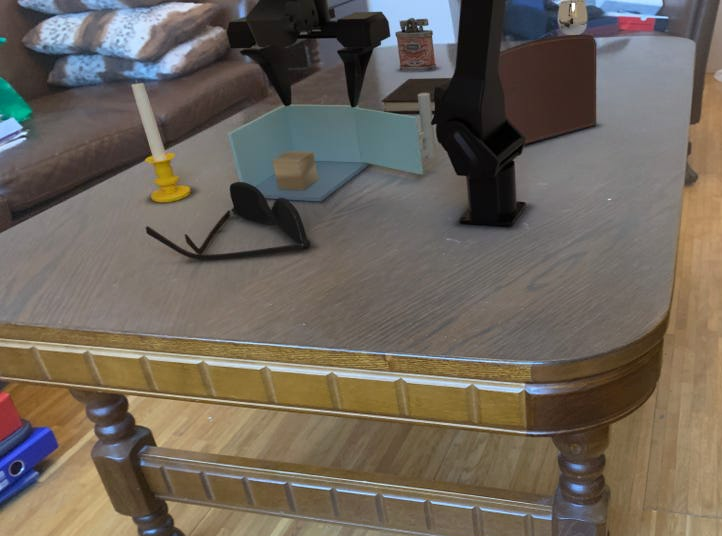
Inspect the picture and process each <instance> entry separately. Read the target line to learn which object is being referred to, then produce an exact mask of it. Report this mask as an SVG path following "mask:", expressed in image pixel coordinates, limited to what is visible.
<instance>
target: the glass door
mask: <svg viewBox="0 0 722 536" xmlns="http://www.w3.org/2000/svg"><path fill="white" fill-rule="evenodd" d="M418 103H419V112H420V113H419V121H420V129H421V131H419V127H418V120H417V119H418V118H417V116H414V115H413V116H412V115H408V114H395V113H388V112H384V111H383V110H376V109H369V108H363V107H359V108H357V107H354V108H353V110H354V116H355V122H356V128H357V135H358V141H359V147H360V153H361V159H362V162H365V163H368V165H375V166H379V167H384V168H389V169H393V170H397V171H402V172H407V173H412V174H416V175H424V167H423V161H422V160H423V158H425V159H427V160H430V159H435V158H436V157H437V148H436V139H435V130H434V125H431V121H432V119H433V113H432V111H431V102H430V94H429V93H421V94H418ZM420 141H422V145H423V148H422V149H421V144H420Z"/></svg>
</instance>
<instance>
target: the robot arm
mask: <svg viewBox="0 0 722 536" xmlns="http://www.w3.org/2000/svg"><path fill="white" fill-rule="evenodd" d="M506 1H507V0H460V9H459V19H458V29H457V45H456V55H455V67H454V71H453V74H452V77H450V78H451V79H449V80H448V81H446V82H444V83H442V84H441V85H439V86H437V87H435V91H434V104H435V112H434V113H433V116H432V121H431V125H433V126H435V137H436V141H437V143H438V144H440V145H441V146H442V148H443V149H444V151H446V154H447V157H448V158H449V160H450V163H451V165H452V168H453V170H454V172H455V175H456V176H459V177H465V179H466V191H467V192H466V193H467V205H468V208H467V209H465V212H463V214H462V215H461V216H460V217H459V218H458V219H459V220H458V221H459V223H460V224H466V225H467V224H468V225H483V226H499V227H512V226H513V225H514V224H515V222H516V221H517V220H518V218H519V217H520V216H521V214H522V213H523V212H524V211H525V209H526V207H527V203H526V202H525V201H517V200H518V199H517V184H516V166H515V165H516V163H515V159H516V158H517V157H519V156H521V155H522V154H523V151H524V148H525V146H526V145H525V141H526V138H525V137H524V136H523V135H522V133H521V132H520V131H519V130H518V129H517V128H516V127H515V126H514V125H513V124H512V123H511V122H510V121H509V120H508V119H507V118H506V117H505V95H504V91H503V87H502V84H501V81H500V77H499V74H498V63H499V55H500V52H501V47H502V46H501V45H502V37H503V28H504V19H505V11H506ZM335 18H336V12H335V7H329V4H328V0H258V2H256V4H255V5H254V6H253V7H252V9H251V10H250V11H249V12H248V14H247V15H246V16H243V17H239V18H237V19H234V20H230V21H228V24H227V27H226V30H225V35H226V40H227V45H228V48H229V49H241V50H239V51H238V52H239V54H240V55H241V56H243V57H244V56H245V57H248V58H250V59H251V60H252V61H254V62H255V63H256V64H258V65H259V67H260V68H261V69H262V71H263V73H264V74H265V75H266V77H267V79H268V80H269V82H270V84H271V85H272V87H273V89H274V91H275V92H276V94H277V96H278V97H279V99H280V101H281V102H282V105H283V104H284V106H289V105H291V104H293V103H292V85H291V77H290V69H289V63H288V61H289V60H288V54H287V53H288V52H287V48H288V47H291V46H293V45H295V43H297V41H298V40H310V39H313V40H317V39H318V40H319V39H322V40H323V39H324V40H325V39H336V41H337V42H338V43H339V44H340V45H341V46H342V48H340V49H338V50H336V53H337V55H338V56H339V58H340V60H341V61H342V64H343V68H344V76H345V81H346V82H345V83H346V89H347V97H348V101H349V105H351V107H356V106H357V105H358V106H359V101H360V97H361V93H362V89H363V85H364V80H365V77H366V73H367V68H368V65H369V63H370V60H371V57H372V54H373V52H374V49H376V48H378V47H380V46H381V45H382V42H383V41H385V40H387V39H388V38H391V29H390V28H391V27H390V22H389V20H388V18H387V17H386V15H385V14H384V12H382V11H354V12H353V13H350V14H348V15H345V16H342V17H340V18H337V20H332V19H335Z"/></svg>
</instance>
